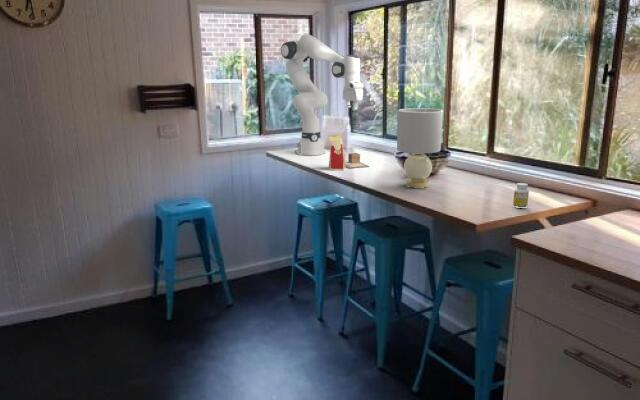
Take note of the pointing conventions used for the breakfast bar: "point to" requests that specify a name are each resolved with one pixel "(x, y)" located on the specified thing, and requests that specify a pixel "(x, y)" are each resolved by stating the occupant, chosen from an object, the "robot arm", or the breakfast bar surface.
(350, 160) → the brown wooden cube
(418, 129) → the lamp
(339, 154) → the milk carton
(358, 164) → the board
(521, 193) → the supplement bottle
